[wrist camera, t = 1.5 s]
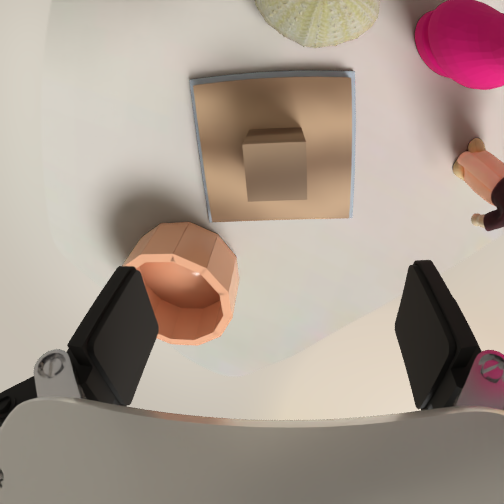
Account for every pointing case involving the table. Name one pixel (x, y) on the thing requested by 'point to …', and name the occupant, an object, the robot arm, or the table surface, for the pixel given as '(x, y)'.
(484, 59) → the pepper mill
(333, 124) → the lid
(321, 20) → the sea urchin shell
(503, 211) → the grandmother figurine
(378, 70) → the table surface
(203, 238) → the bowl
